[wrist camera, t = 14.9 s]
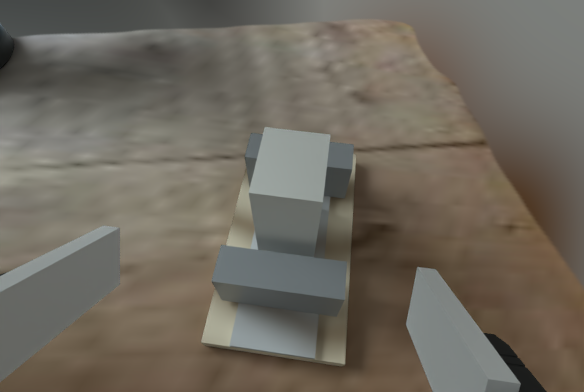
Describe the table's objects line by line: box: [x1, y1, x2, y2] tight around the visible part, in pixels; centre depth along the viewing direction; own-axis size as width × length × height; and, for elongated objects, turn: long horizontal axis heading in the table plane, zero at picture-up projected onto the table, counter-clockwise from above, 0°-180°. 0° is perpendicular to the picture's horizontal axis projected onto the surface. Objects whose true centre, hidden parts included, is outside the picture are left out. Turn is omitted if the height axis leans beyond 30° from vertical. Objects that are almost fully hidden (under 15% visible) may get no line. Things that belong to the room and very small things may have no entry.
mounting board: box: [201, 154, 356, 367], centre depth 35 cm, size 22×12×2 cm, turn 172°
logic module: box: [249, 127, 330, 257], centre depth 30 cm, size 6×5×11 cm
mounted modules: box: [212, 133, 354, 317], centre depth 32 cm, size 15×10×5 cm, turn 172°
